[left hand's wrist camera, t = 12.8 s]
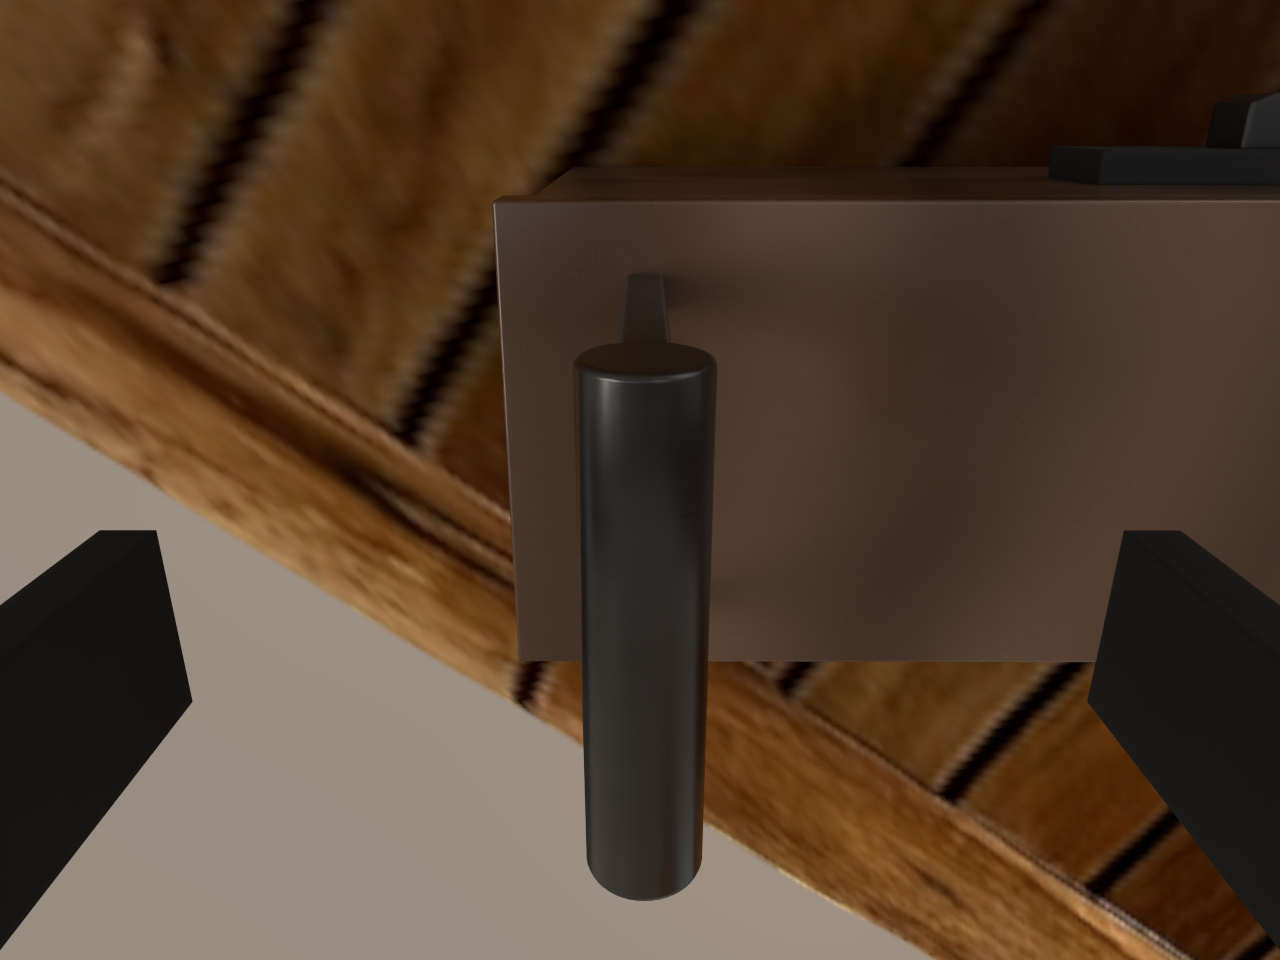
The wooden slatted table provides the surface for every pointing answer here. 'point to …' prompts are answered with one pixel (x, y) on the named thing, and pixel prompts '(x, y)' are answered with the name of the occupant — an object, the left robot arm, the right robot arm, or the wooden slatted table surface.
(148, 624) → the left robot arm
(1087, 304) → the lid
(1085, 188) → the chest
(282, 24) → the wooden slatted table surface
